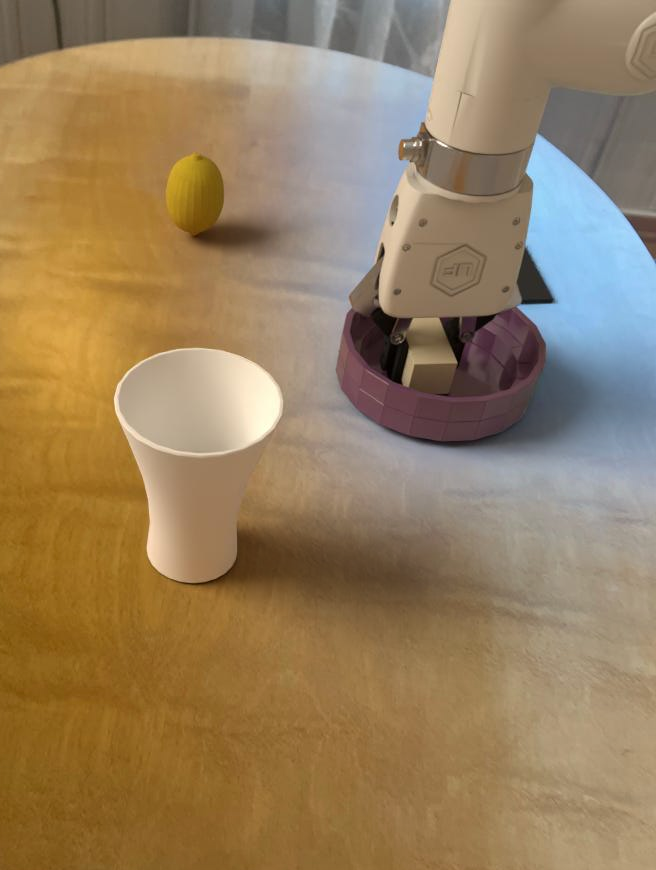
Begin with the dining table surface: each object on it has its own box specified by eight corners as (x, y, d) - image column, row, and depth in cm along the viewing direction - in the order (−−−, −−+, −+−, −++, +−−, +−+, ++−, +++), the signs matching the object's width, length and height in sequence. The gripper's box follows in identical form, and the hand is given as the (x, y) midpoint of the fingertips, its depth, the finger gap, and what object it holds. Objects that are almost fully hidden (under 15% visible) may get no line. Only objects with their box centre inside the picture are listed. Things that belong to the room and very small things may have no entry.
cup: (191, 479, 77) (198, 326, 66) (294, 552, 72) (319, 401, 62) (88, 548, 72) (78, 396, 62) (192, 630, 68) (200, 482, 57)
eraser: (425, 351, 86) (436, 311, 83) (445, 403, 82) (457, 363, 79) (385, 352, 86) (395, 312, 83) (403, 405, 82) (414, 364, 79)
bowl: (498, 323, 90) (512, 278, 87) (554, 443, 80) (573, 397, 77) (320, 328, 89) (327, 283, 86) (355, 450, 79) (365, 405, 76)
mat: (520, 243, 99) (521, 239, 98) (552, 302, 93) (553, 299, 92) (400, 246, 98) (401, 242, 98) (424, 306, 92) (425, 302, 91)
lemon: (233, 235, 98) (238, 153, 92) (195, 257, 96) (198, 174, 90) (191, 214, 101) (194, 133, 94) (153, 234, 98) (153, 153, 92)
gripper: (365, 185, 67) (326, 406, 81) (607, 181, 68) (525, 400, 82) (345, 131, 71) (310, 350, 86) (571, 129, 72) (499, 345, 87)
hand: (416, 372), depth 84 cm, fingers closed on eraser, 3 cm apart
